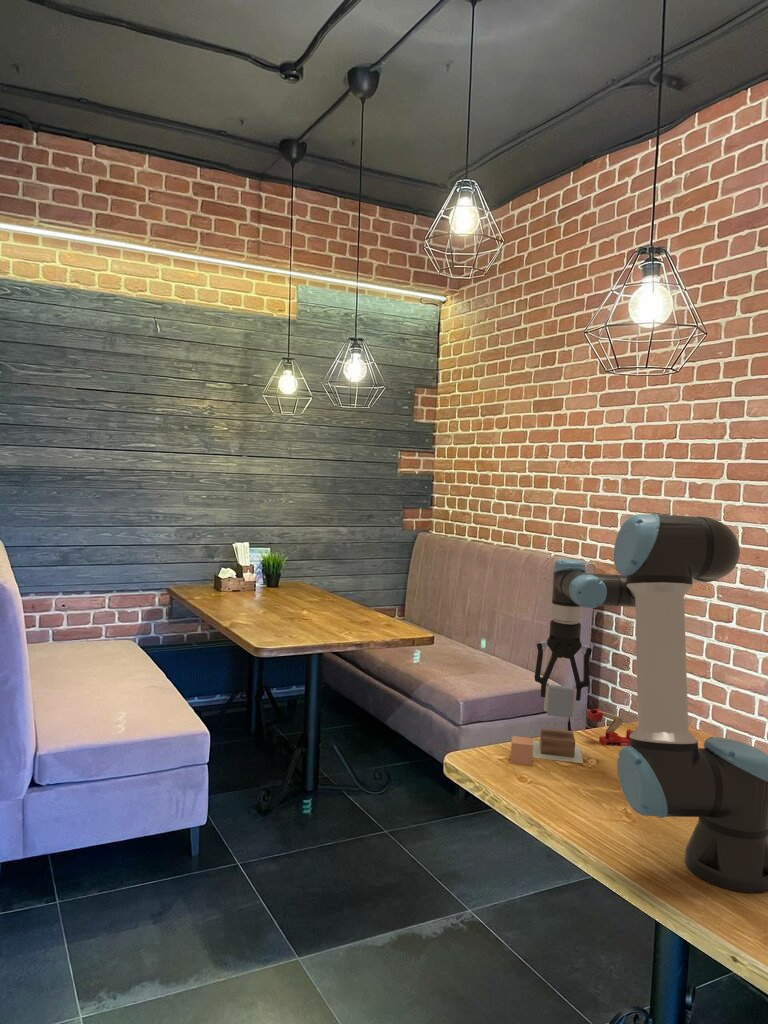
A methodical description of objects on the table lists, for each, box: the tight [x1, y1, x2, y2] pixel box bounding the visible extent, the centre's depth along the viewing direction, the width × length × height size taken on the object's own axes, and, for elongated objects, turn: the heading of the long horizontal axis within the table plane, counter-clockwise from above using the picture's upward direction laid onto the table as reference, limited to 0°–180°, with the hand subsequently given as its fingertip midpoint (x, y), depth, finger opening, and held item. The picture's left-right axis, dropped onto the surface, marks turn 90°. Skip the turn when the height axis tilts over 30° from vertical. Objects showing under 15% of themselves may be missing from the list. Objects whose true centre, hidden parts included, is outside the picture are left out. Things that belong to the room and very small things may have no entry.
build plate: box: [532, 740, 584, 764], centre depth 191 cm, size 12×12×1 cm
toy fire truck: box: [586, 708, 634, 747], centre depth 199 cm, size 3×14×10 cm, turn 94°
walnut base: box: [539, 727, 576, 758], centre depth 191 cm, size 8×8×4 cm
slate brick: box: [546, 684, 574, 719], centre depth 191 cm, size 6×6×6 cm
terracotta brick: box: [510, 735, 534, 766], centre depth 183 cm, size 5×5×6 cm
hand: (559, 711), depth 191 cm, fingers closed on slate brick, 6 cm apart
